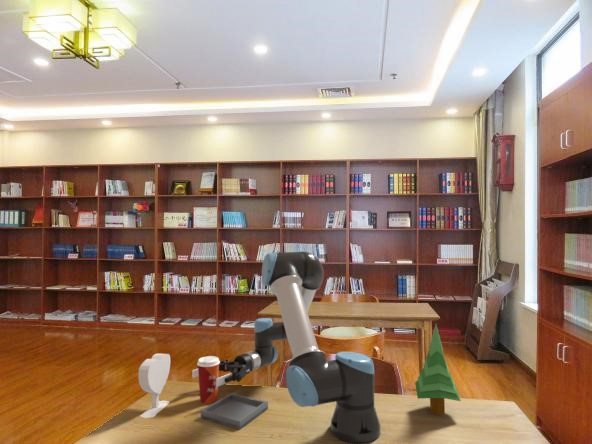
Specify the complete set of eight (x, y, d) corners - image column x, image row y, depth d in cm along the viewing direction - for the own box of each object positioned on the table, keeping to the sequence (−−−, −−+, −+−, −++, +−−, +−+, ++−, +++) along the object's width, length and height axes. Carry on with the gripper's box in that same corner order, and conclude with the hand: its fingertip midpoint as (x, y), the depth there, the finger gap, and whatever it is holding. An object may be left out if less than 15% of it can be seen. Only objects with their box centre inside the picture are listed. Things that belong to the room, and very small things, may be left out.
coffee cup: (214, 406, 142) (214, 363, 143) (193, 404, 144) (193, 362, 144) (223, 396, 151) (223, 356, 151) (203, 394, 152) (203, 354, 152)
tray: (267, 408, 140) (267, 401, 140) (240, 429, 126) (240, 421, 126) (231, 399, 148) (230, 392, 148) (200, 418, 133) (200, 410, 134)
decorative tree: (419, 420, 130) (418, 327, 131) (414, 400, 146) (412, 316, 146) (463, 424, 128) (462, 329, 128) (453, 402, 143) (452, 318, 144)
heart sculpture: (159, 398, 149) (159, 350, 149) (172, 399, 148) (172, 350, 148) (136, 418, 134) (136, 364, 134) (150, 419, 133) (150, 364, 133)
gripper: (269, 379, 155) (227, 397, 138) (226, 365, 171) (183, 380, 154) (269, 359, 155) (227, 375, 139) (226, 347, 171) (183, 360, 154)
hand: (204, 378), depth 146 cm, fingers open, 13 cm apart
